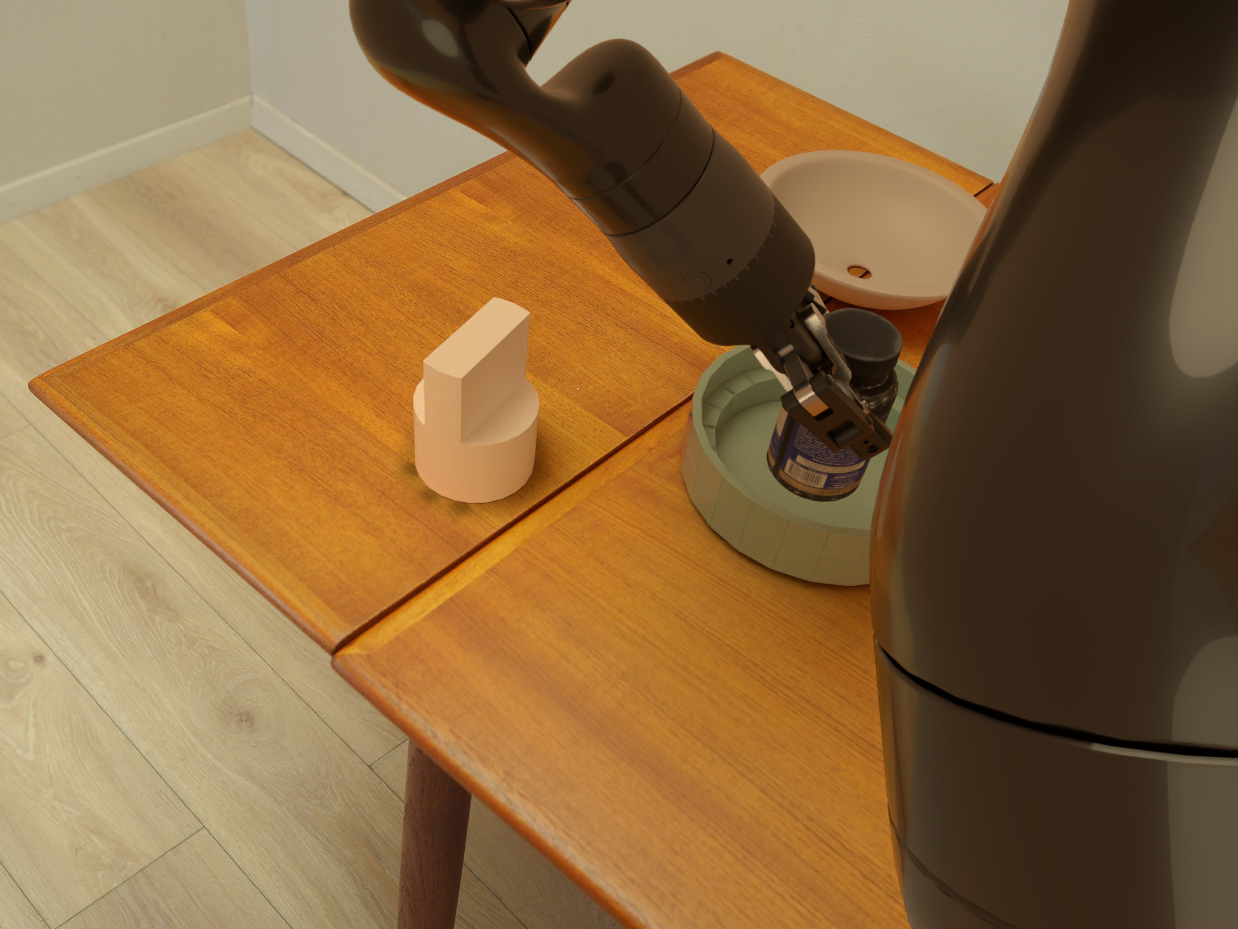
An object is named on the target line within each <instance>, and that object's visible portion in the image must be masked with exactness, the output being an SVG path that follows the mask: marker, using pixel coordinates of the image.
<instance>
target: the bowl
mask: <svg viewBox="0 0 1238 929" xmlns="http://www.w3.org/2000/svg"><path fill="white" fill-rule="evenodd" d="M894 370H895V372H896V374H897V378H898V382H899V384H898V393H897V397H896V399H895V401H894V403H893V406H892V408H891V411H890V413H889V415H888V418H887V420H886V423H885V425H886V426H887V427H888V428H889V430H890V431H891V433H892V435H893V434H894V430H895V427H896V424H897V421H898V419H899V416H900V413H901V410H902V407H903V404H904V401H905V398H906V396H907V393H908V390H909V387H910V385H911V382H912V380H913V378H914V375H915V373H916V370H917V368H915V367H913V366H912V365H911V364H909V363H907V362H906V361H904V360H902V359H900V358H898V362H897V364H896V366H895V367H894ZM785 393H786V390H785V389H784V387H783V386H782V385H781V383H780V382H779V380H778V379H777V378H776V376H775V375H774V374H773V372H772V371H769V370H766V369H765V368H764V367H763V366H762V365H761V364H760V362H759V361H758V359H757V358H756V357H755V355H754V354H753V352H752V350H751V348H750V346H749V345H737V346H733V347H732V348H731V349H729V350H727V351H725V352H723V353H721V354H720V355H718V356H717V357H716V359H714V360H713V362H712V363H710V365H709V366H708V367H706V369H704V371H703V372H702V374H701V375H700V378H699V380H698V382H697V385H696V387H695V390H694V391H693V394H692V397H691V398H692V399H691V402H690V407H689V412H688V416H687V420H686V425H685V429H684V434H683V438H682V442H681V448H680V452H681V454H680V457H681V458H680V459H681V460H680V461H681V462H680V471H681V475H682V478H683V481H684V484H685V488H686V491H687V493H688V495H689V496H688V497H689V498H690V501H691V502H692V503H693V505H694V507H695V508H696V509H697V510H698V512H699V514H700V515H701V517H702V518H703V519H704V520H705V522H706V523H707V524H708V526H709V527H710V528H711V529H712V530H713V531H714V532H716V533H717V534H718V535H719V536H720V537H721V538H723V540H724V541H726V542H727V543H728V544H729V545H730V546H731V547H733V548H734V549H735V550H737V551H738V552H740V553H741V554H743V555H745V556H746V557H748V558H750V559H752V560H754V561H756V562H757V563H759V564H761V565H763V566H765V567H766V568H768V569H770V570H772V571H775V572H778V573H782V574H785V575H788V576H791V577H795V578H798V579H801V580H804V581H806V582H810V583H816V584H817V583H819V584H826V585H835V586H836V585H837V586H846V587H852V586H853V587H855V586H862V585H864V586H865V585H870V579H869V547H870V533H871V520H872V515H873V510H874V505H875V500H876V496H877V491H878V486H879V481H880V477H881V474H882V471H883V467H884V464H885V460H886V457H887V454H888V450H889V448H888V449H887V450H885V451H883V452H881V453H880V454H878V455H876V456H874V457H872V458H871V459H870V461H869V464H868V466H867V469H866V471H865V473H864V476H863V478H862V480H861V482H860V484H859V486H858V488H857V489H856V491H854V492H853V493H852V494H851V495H849V496H848V497H846V498H843V499H840V500H837V501H834V502H818V501H811V500H809V499H804V498H801V497H799V496H797V495H795V494H793V493H792V492H790V491H788V490H787V489H786V488H784V487H783V486H782V485H781V484H780V483H779V482H778V481H777V480H776V479H775V478H774V476H773V474H772V472H771V471H770V469H769V467H768V463H767V458H766V455H767V451H768V447H769V444H770V441H771V438H772V434H773V431H774V428H775V425H776V421H777V418H778V415H779V412H780V409H781V406H782V402H781V399H780V396H781V395H783V394H785Z"/></svg>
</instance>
